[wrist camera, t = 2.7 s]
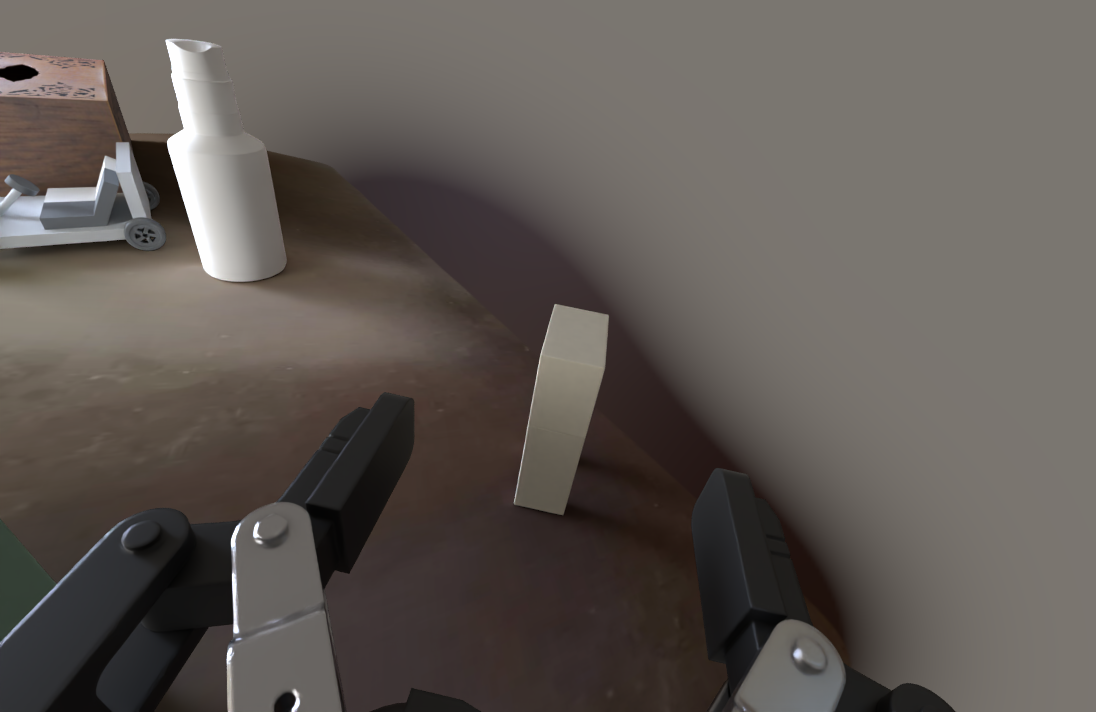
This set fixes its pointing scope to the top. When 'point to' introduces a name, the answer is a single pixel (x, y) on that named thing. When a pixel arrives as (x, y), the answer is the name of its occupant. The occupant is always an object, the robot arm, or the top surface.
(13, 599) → the bin
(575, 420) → the clip
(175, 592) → the robot arm
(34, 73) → the tissue box cover
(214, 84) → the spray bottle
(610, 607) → the top surface
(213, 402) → the top surface
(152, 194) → the toy car
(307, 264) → the top surface
